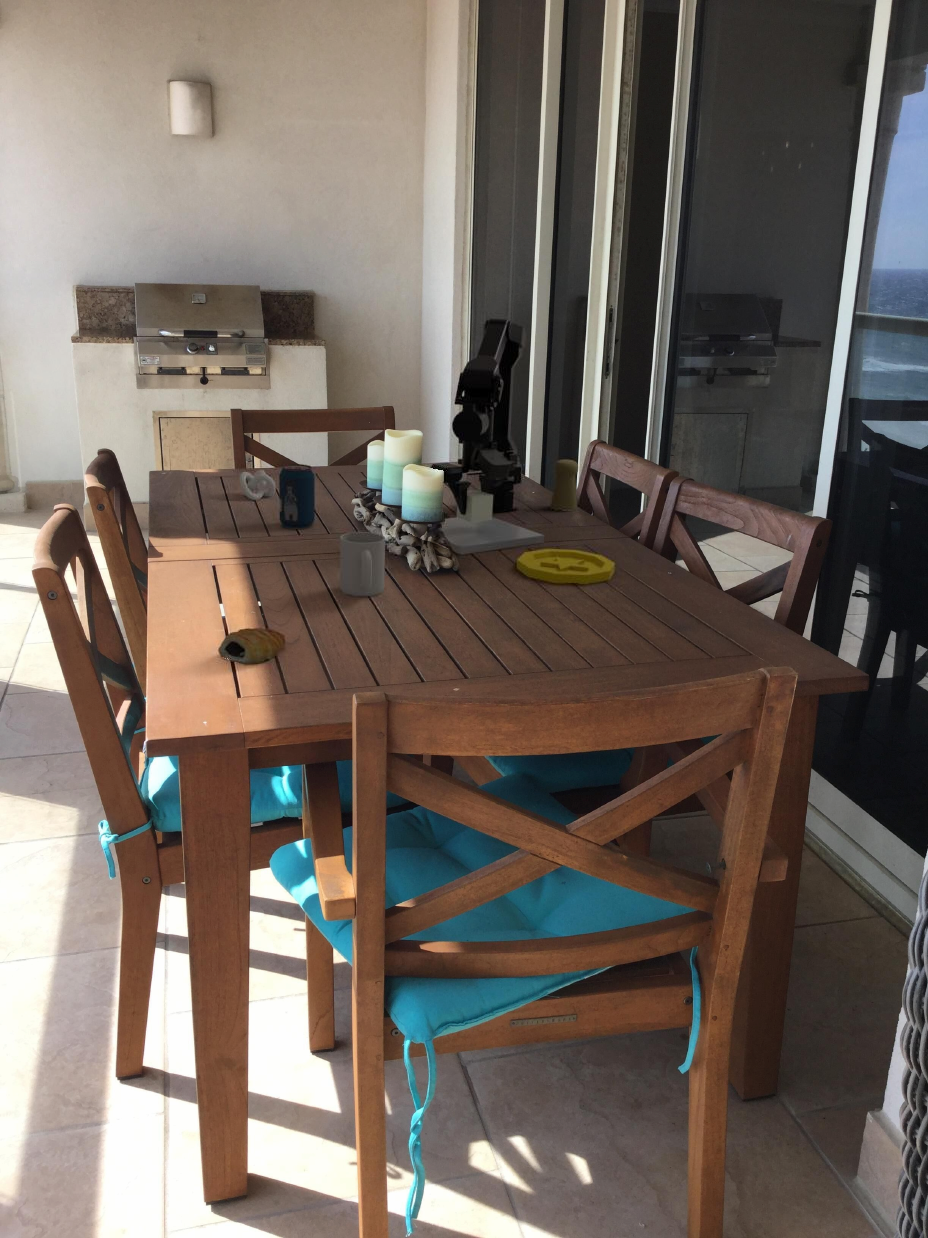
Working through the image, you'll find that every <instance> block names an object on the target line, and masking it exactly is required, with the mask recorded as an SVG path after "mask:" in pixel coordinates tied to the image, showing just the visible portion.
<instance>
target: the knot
mask: <svg viewBox="0 0 928 1238" xmlns="http://www.w3.org/2000/svg"><path fill="white" fill-rule="evenodd" d="M247 480H248V482H247ZM238 481H239V486H240V488H241V491H242V492H243V494H244V495H243V496H245V497H247V498H248V499H250V500H252V501H259V500H261V498H262V497H265V498H269V497H272V496H274V494H275V493H276V488H277V487H276V483H275V480H274V479H273V478H272V476H270V475H268V474H266V472H265V471H264V470H263V469H259V470H256V471H255V473H253V474H252V473H250V472H248V471H243V472H241V473H240V474H239V478H238ZM267 484H268V489H267V490H266V485H267ZM254 490H255V491H256V493H255V492H254Z"/></svg>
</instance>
